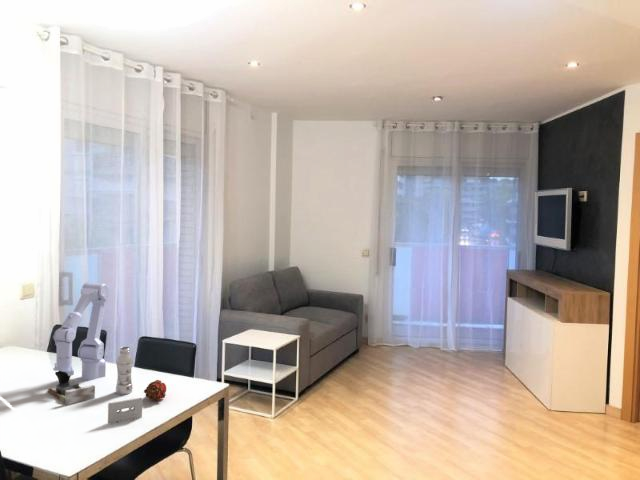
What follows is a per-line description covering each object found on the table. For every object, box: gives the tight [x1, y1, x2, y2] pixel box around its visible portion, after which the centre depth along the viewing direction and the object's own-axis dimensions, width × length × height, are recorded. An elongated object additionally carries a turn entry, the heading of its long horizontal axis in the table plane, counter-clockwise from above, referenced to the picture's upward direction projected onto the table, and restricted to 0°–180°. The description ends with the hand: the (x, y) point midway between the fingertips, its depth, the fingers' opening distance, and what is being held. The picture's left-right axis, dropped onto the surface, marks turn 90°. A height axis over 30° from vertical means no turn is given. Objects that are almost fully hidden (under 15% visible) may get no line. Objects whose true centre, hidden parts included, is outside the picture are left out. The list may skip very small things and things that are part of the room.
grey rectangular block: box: [55, 380, 80, 396], centre depth 203 cm, size 7×5×4 cm
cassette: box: [107, 397, 143, 425], centre depth 182 cm, size 12×2×8 cm, turn 124°
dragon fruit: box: [143, 379, 167, 402], centre depth 203 cm, size 8×8×12 cm
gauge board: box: [46, 384, 96, 406], centre depth 201 cm, size 11×20×6 cm, turn 49°
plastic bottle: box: [115, 346, 134, 396], centre depth 206 cm, size 6×7×20 cm
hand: (63, 388), depth 206 cm, fingers closed
